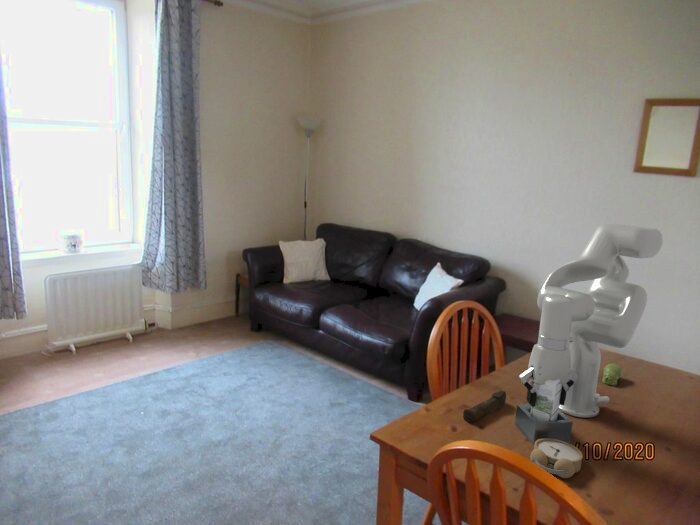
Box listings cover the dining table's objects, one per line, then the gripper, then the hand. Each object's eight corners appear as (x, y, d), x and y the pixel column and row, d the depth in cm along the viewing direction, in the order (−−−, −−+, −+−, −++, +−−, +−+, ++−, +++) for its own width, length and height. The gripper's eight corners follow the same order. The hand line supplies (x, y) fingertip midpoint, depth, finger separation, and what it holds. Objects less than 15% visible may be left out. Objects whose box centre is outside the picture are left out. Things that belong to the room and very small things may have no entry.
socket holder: (549, 422, 147) (551, 402, 146) (569, 442, 137) (572, 422, 136) (514, 424, 145) (517, 404, 144) (533, 444, 135) (535, 423, 134)
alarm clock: (587, 448, 129) (574, 467, 117) (584, 467, 130) (571, 488, 117) (541, 433, 136) (525, 449, 123) (538, 451, 136) (521, 469, 124)
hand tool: (473, 426, 144) (474, 411, 143) (461, 420, 147) (463, 405, 146) (512, 407, 156) (514, 392, 155) (501, 401, 159) (503, 387, 158)
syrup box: (557, 424, 141) (564, 375, 138) (549, 433, 137) (556, 382, 133) (536, 417, 145) (542, 369, 141) (528, 425, 140) (534, 375, 137)
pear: (624, 363, 177) (619, 377, 169) (622, 376, 179) (616, 391, 171) (606, 359, 180) (600, 372, 172) (605, 372, 182) (598, 386, 174)
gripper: (575, 335, 140) (567, 395, 144) (515, 337, 138) (508, 398, 141) (592, 346, 133) (583, 409, 137) (529, 348, 130) (521, 412, 134)
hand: (545, 403), depth 139 cm, fingers closed on syrup box, 7 cm apart
